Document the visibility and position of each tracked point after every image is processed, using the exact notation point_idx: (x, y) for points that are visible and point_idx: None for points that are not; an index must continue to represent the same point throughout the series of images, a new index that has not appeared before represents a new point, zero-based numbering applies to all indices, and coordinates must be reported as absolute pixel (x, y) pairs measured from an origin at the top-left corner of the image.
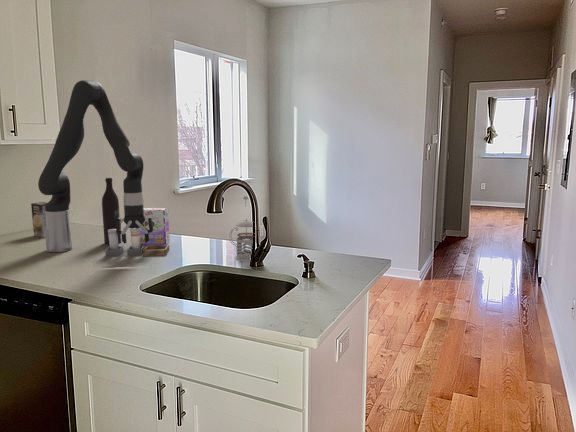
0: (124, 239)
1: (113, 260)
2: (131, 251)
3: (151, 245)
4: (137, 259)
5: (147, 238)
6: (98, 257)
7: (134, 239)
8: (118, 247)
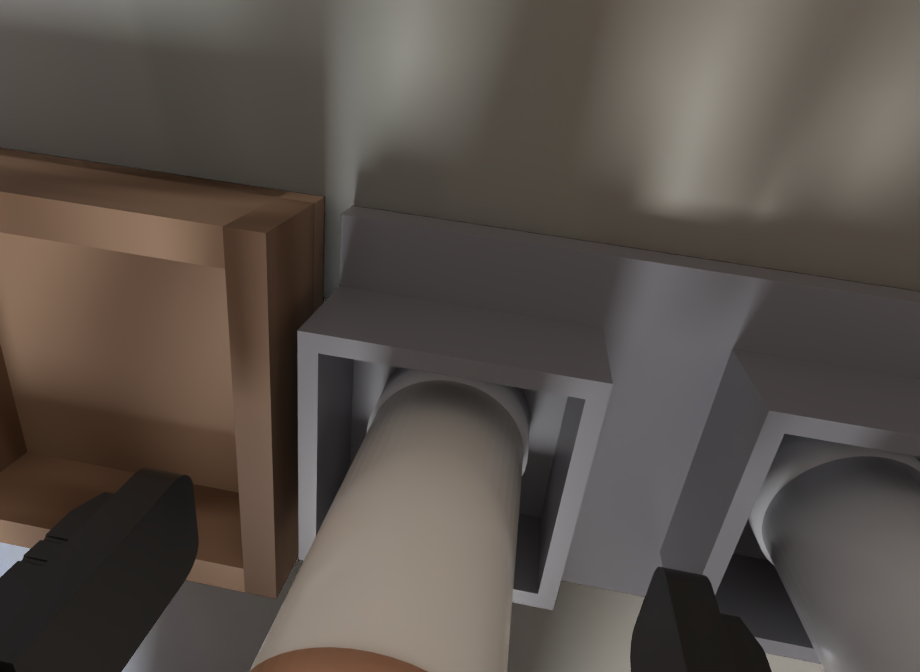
0: (699, 653)
1: (894, 121)
2: (522, 344)
3: (196, 565)
4: (411, 87)
5: (63, 550)
6: None
7: (404, 566)
8: (793, 553)
